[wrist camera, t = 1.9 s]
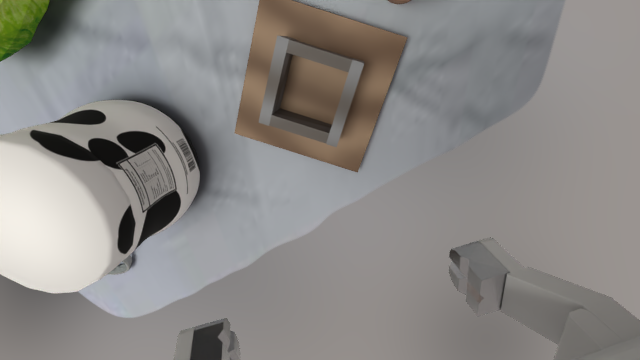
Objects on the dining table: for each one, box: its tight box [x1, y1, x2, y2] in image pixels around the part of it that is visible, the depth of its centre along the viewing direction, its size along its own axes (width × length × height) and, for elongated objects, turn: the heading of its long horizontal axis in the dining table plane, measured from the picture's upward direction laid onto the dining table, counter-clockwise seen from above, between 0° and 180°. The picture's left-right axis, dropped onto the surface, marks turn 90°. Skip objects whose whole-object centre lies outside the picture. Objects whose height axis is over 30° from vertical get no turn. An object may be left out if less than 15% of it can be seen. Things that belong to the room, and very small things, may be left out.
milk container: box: [0, 100, 200, 293], centre depth 37 cm, size 17×17×18 cm
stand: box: [235, 0, 407, 172], centre depth 36 cm, size 16×16×6 cm
